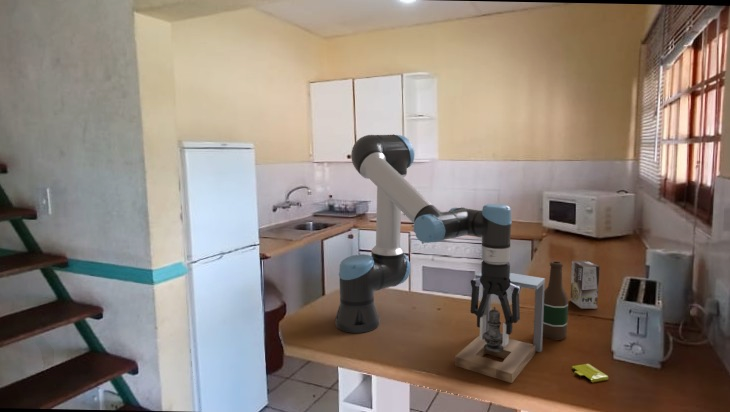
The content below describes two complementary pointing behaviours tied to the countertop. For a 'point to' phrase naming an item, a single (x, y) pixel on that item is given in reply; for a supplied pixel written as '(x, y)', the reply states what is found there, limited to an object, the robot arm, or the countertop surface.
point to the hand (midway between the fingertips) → (493, 341)
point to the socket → (507, 370)
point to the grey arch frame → (539, 303)
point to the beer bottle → (555, 305)
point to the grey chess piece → (494, 332)
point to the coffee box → (584, 284)
